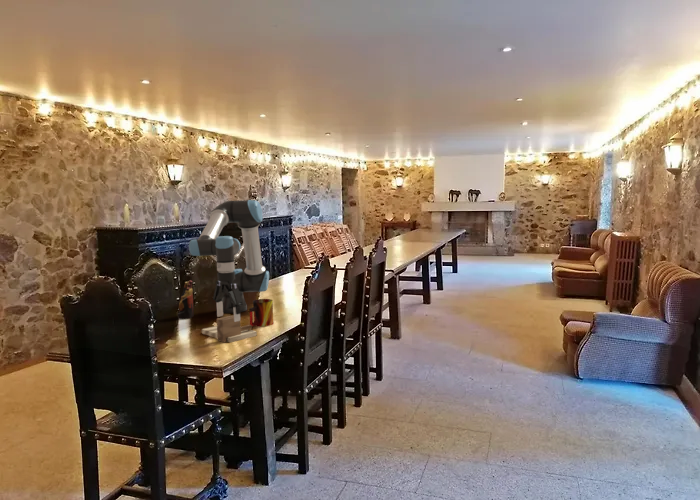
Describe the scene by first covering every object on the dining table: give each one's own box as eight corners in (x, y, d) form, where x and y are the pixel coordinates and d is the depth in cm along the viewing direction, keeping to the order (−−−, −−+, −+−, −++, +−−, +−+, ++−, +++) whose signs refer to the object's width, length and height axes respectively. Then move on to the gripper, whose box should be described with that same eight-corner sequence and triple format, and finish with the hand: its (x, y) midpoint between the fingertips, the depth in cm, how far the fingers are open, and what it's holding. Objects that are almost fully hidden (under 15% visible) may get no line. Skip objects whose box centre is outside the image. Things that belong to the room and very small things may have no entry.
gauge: (217, 340, 218) (216, 318, 217) (247, 332, 229) (247, 312, 228) (223, 342, 214) (222, 320, 213) (254, 334, 226) (253, 313, 225)
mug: (249, 329, 237) (248, 304, 236) (256, 322, 251) (255, 298, 250) (269, 328, 237) (268, 304, 236) (275, 321, 251) (274, 298, 250)
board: (201, 333, 231) (201, 329, 231) (227, 327, 241) (227, 323, 241) (230, 342, 215) (230, 337, 214) (256, 335, 225) (256, 331, 225)
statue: (182, 315, 271) (180, 279, 269) (196, 315, 271) (194, 279, 269) (174, 320, 259) (172, 282, 257) (189, 320, 259) (187, 282, 257)
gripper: (203, 269, 222) (206, 315, 224) (234, 275, 205) (237, 325, 207) (218, 267, 227) (220, 312, 230) (249, 273, 210) (252, 321, 213)
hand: (228, 318), depth 219 cm, fingers open, 13 cm apart
